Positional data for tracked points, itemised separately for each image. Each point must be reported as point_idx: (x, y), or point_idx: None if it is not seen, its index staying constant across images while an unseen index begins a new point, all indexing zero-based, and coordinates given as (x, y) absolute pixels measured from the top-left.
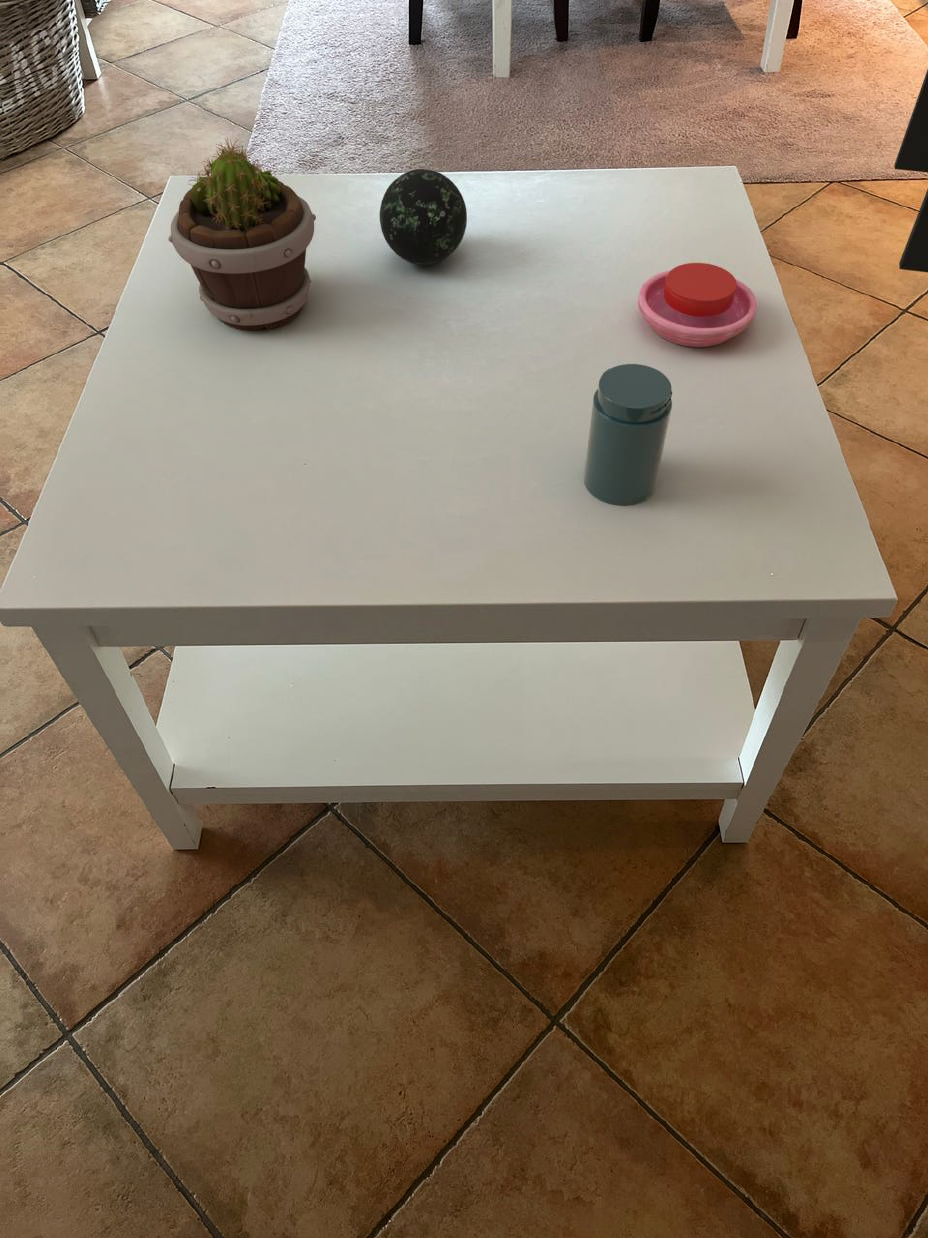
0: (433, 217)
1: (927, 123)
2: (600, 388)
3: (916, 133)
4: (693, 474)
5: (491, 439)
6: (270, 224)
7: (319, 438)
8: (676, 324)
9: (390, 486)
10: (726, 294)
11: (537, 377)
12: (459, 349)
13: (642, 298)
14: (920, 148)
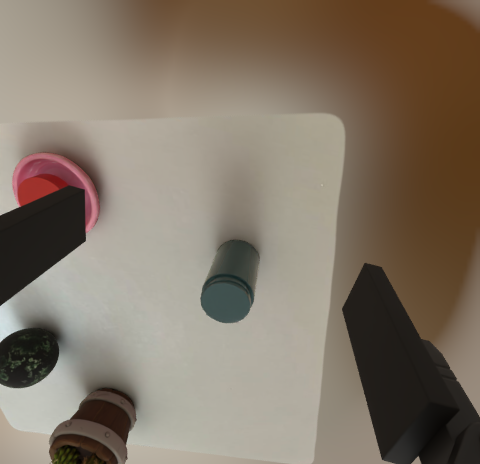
0: (36, 363)
1: (35, 254)
2: (229, 322)
3: (49, 256)
4: (230, 216)
5: (206, 317)
6: (95, 452)
7: (212, 383)
8: (91, 219)
9: (245, 359)
10: (56, 188)
11: (147, 291)
12: (129, 325)
13: None
14: (64, 233)
